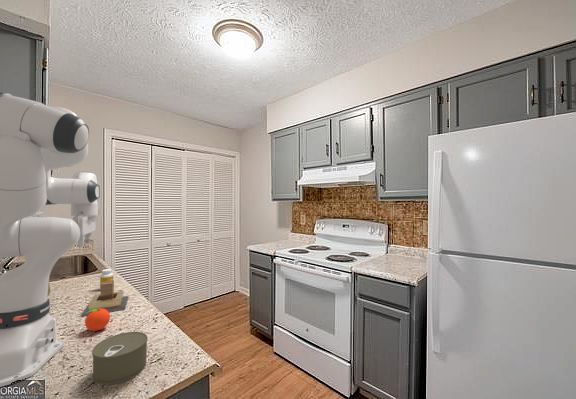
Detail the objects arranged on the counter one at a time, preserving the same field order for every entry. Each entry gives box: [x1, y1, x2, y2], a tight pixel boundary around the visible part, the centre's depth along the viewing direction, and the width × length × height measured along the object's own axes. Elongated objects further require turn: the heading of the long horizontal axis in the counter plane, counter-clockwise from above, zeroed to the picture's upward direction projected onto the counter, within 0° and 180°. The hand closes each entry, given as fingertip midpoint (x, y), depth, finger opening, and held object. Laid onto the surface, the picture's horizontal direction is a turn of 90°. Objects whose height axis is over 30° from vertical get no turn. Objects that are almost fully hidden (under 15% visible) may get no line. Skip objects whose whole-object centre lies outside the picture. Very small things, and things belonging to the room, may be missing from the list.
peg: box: [99, 279, 115, 300], centre depth 107 cm, size 4×4×9 cm
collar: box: [81, 290, 130, 317], centre depth 107 cm, size 14×14×4 cm
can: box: [91, 331, 148, 386], centre depth 66 cm, size 12×12×7 cm
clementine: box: [84, 309, 111, 332], centre depth 87 cm, size 8×7×7 cm
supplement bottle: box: [99, 268, 114, 291], centre depth 128 cm, size 5×5×10 cm
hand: (84, 244), depth 106 cm, fingers open, 8 cm apart
